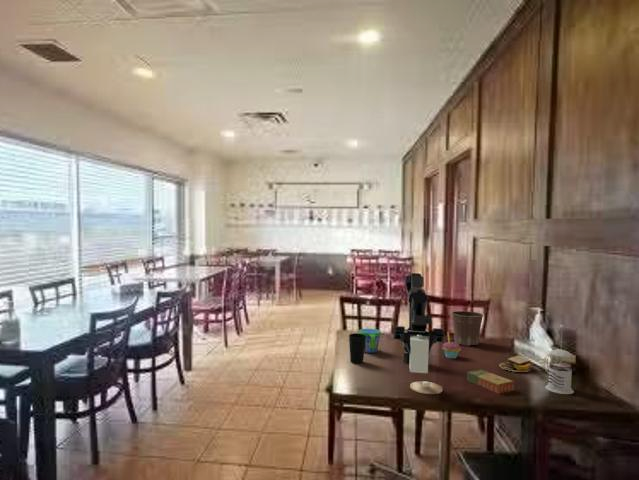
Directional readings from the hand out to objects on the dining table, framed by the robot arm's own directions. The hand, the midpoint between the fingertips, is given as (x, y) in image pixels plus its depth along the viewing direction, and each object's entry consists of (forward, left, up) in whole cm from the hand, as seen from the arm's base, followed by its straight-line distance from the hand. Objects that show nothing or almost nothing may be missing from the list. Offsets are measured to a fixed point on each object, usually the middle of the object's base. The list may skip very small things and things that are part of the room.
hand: (419, 353), depth 168 cm
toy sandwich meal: (-56, -9, -14) cm, 59 cm away
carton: (-29, +5, -14) cm, 33 cm away
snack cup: (-8, -52, -14) cm, 54 cm away
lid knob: (-4, 0, -13) cm, 13 cm away
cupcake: (-41, -32, -14) cm, 53 cm away
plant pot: (-66, -51, -14) cm, 84 cm away
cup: (+6, -38, -14) cm, 41 cm away
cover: (-1, -1, -7) cm, 7 cm away
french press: (-53, +16, -14) cm, 57 cm away
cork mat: (-4, 0, -13) cm, 14 cm away
